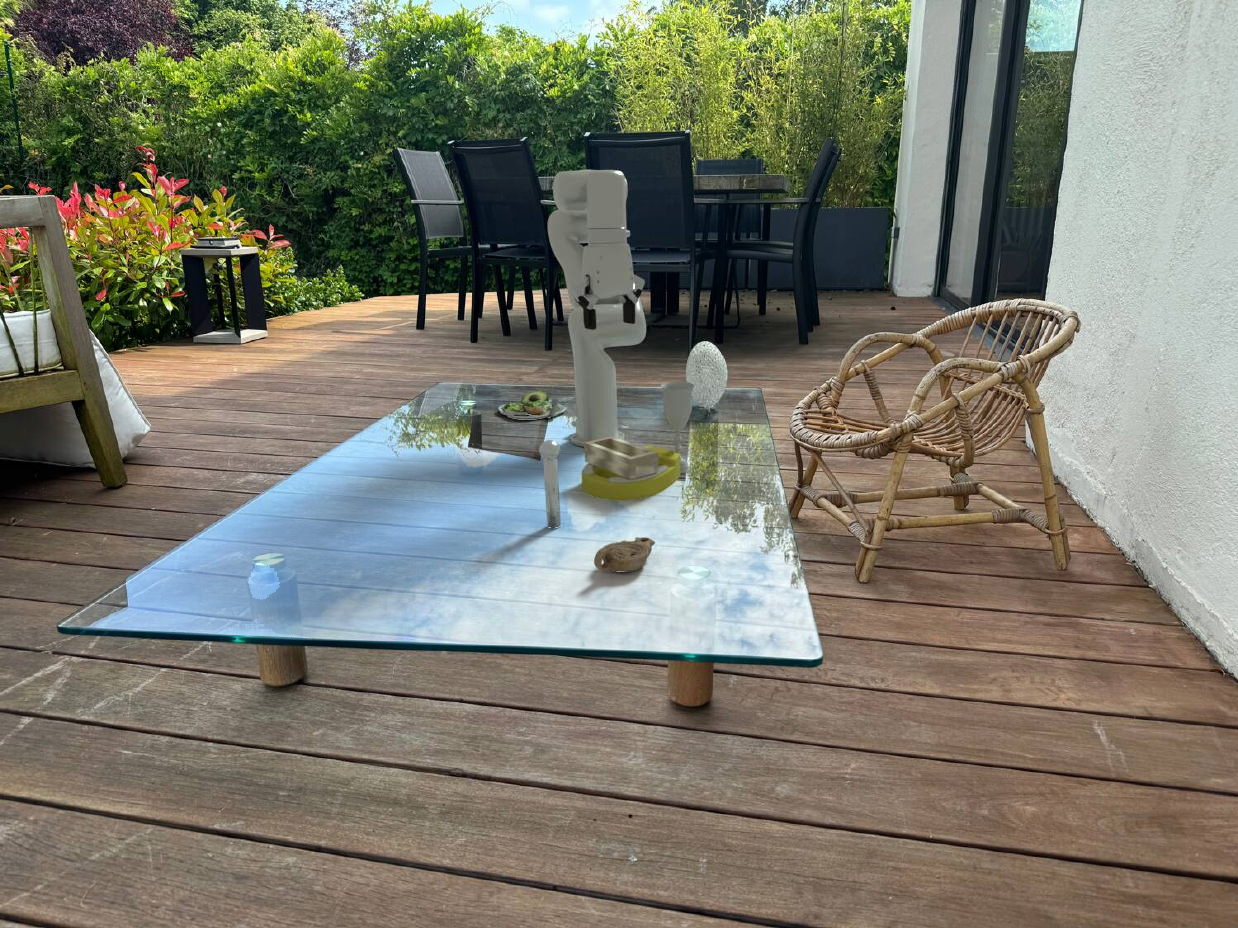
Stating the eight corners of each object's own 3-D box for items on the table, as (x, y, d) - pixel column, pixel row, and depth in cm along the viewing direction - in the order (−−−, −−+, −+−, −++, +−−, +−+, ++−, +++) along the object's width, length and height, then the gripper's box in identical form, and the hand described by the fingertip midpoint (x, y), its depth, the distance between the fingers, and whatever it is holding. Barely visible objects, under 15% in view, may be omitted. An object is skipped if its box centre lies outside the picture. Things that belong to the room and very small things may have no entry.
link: (585, 461, 172) (584, 442, 170) (611, 454, 175) (611, 436, 174) (631, 479, 160) (630, 459, 159) (658, 471, 164) (658, 452, 163)
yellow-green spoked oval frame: (695, 480, 172) (695, 456, 171) (624, 508, 158) (624, 483, 157) (636, 464, 183) (635, 442, 182) (565, 489, 169) (564, 466, 168)
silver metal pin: (540, 525, 150) (534, 440, 146) (557, 520, 153) (552, 436, 148) (551, 531, 148) (545, 444, 143) (568, 526, 150) (563, 440, 145)
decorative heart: (683, 400, 235) (683, 339, 229) (722, 399, 235) (722, 338, 229) (689, 417, 218) (689, 351, 212) (730, 416, 218) (731, 350, 212)
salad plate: (582, 417, 222) (581, 400, 221) (518, 427, 214) (517, 410, 213) (552, 402, 238) (551, 386, 237) (492, 412, 231) (491, 395, 229)
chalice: (691, 476, 174) (691, 390, 168) (659, 474, 175) (657, 389, 170) (696, 465, 180) (696, 382, 175) (665, 463, 182) (664, 381, 176)
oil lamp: (633, 548, 140) (633, 520, 139) (669, 560, 135) (669, 531, 134) (578, 575, 131) (577, 546, 129) (614, 589, 126) (613, 558, 125)
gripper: (630, 234, 172) (632, 319, 178) (559, 239, 162) (563, 329, 168) (654, 235, 167) (655, 323, 172) (581, 241, 157) (585, 333, 162)
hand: (610, 326), depth 170 cm, fingers open, 9 cm apart
